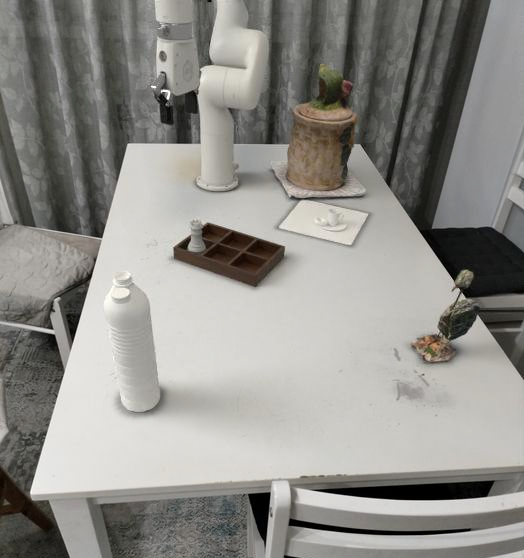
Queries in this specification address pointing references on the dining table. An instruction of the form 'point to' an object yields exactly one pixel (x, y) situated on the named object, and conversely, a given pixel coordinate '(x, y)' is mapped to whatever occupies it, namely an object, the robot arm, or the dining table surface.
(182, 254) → the tray
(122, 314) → the water bottle
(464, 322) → the plant with pod
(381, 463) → the dining table surface
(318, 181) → the cookie jar
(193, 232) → the rook chess piece
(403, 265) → the dining table surface
